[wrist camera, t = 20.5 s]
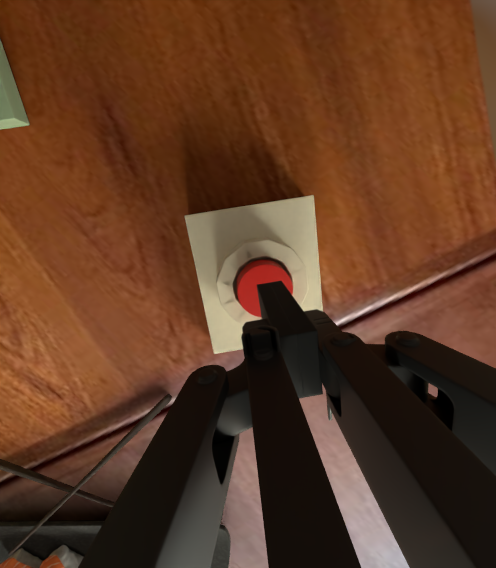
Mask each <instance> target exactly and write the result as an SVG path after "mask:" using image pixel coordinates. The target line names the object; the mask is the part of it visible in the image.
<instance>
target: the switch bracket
mask: <svg viewBox="0 0 496 568" xmlns="http://www.w3.org/2000/svg"><path fill="white" fill-rule="evenodd" d="M27 125H30V124H29V121H28V118H27V115H26V112H25V110H24V107H23V104H22V101H21V98H20V95H19V92H18V89H17V86H16V83H15V80H14V77H13V74H12V72H11V69H10V66H9V63H8V60H7V57H6V54H5V51H4V48H3V45H2V42H1V39H0V129H7V128H14V127H20V126H27Z"/></svg>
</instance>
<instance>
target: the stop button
mask: <svg viewBox="0 0 496 568" xmlns="http://www.w3.org/2000/svg"><path fill="white" fill-rule="evenodd" d="M281 280H282V282H283V283H284V285H285V286H286V287H287V289H288V290H289V291H290V293H291V294H293V285H292V281H291V279H290V277H289V275H288V274H287V273H286V272H285V271H284V269H283V268H282V267H281V266H280V265H278V264H277V263H275V262H273V261H270V260H257V261H253V262H251V263H249V264H248V265H246V266H245V267H244V268H243V269H242V271H241V272H240V274H239V276H238V279H237V295H238V300H239V302H240V304H241V306H242V307H243V308H244V309H245V310H246V311H247V312H248V313H250V314H251V315H254V316H257V317H261V311H260V304H259V298H258V291H257V284H263V283H269V282H275V281H281Z"/></svg>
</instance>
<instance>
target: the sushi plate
mask: <svg viewBox="0 0 496 568" xmlns="http://www.w3.org/2000/svg"><path fill="white" fill-rule="evenodd" d="M171 398H172V396H171V395H170V394H167V395H166V396H165V397H164V398H163V399H162V400H161V401H160V402H159V403H158V404H157V405H156V406H155V407H154V408H153V409H152V410H151V411H150V412H149V413H148V414H147V415H146V416H145V417H144V418H143V419H142V420H141V421H140V422H139V423H138V424H137V425H136V426H135V427H134V428H133V429H132V430H131V431H130V432H129V433H128V434H127V435H126V436H125V437H124V438H123V439H122V440H121V441H120V442H119V443H118V444H117V445H116V446H115V447H114V448H113V449H112V450H111V451H110V452H109V453H108V454H107V455H106V456H105V457H104V458H103V459H102V460H101V461H100V462H99V463H98V464H97V465H96V466H95V467H94V468H93V469H92V470H91V471H90V472H89V473H88V474H87V475H86V476H85V477H84V478H83V479H82V480H81V481H80V482H79V483H78V484H77V485H76V486H75V487H72V486H70V485H67V484H64V483H62V482H59V481H57V480H54V479H52V478H49V477H46V476H44V475H41V474H39V473H36V472H34V471H31V470H28V469H26V468H23V467H20V466H18V465H15V464H13V463H10V462H7V461H5V460H2V459H0V470H3V471H6V472H9V473H12V474H15V475H18V476H21V477H24V478H27V479H29V480H32V481H35V482H38V483H41V484H44V485H47V486H51V487H54V488H57V489H60V490H63V491H66V492H69V493H68V494H67V495H66V496H65V497H64V498H63V499H62V500H61V501H60V502H59V503H58V504H57V505H56V506H55V507H54V508H53V509H52V510H51V511H50V512H49V513H48V514H47V515H46V516H45V517H44V518H43V519H42V520H41V521H19V522H0V568H78V566H79V565H80V563H81V561H82V559H83V558H84V556H85V554H86V552H87V551H88V549H89V547H90V546H91V544H92V542H93V540H94V539H95V537H96V535H97V534H98V532H99V530H100V528H101V527H102V525H103V523H104V522H105V521H46V520H47V519H48V518H49V517H50V516H51V515H52V514H53V513H54V512H55V511H56V510H57V509H58V508H60V507H61V506H62V505H63V504H64V503H65V502H66V501H67V500H68V499H69V498H70V497H71V496H72V495H73V494H75V495H78V496H80V497H83V498H86V499H89V500H92V501H95V502H98V503H101V504H104V505H106V506H109V507H112V508H113V506H114V504H115V503H114V502H112V501H109V500H106V499H104V498H101V497H98V496H96V495H93V494H90V493H88V492H85V491H82V490H80V489H79V488H80V487H81V486H82V485H83V484H84V483H85V482H86V481H87V480H88V479H90V478H91V477H92V476H93V475H94V474H95V473H96V472H97V471H98V470H99V469H100V468H101V467H102V466H103V465H104V464H105V463H106V462H107V461H108V460H110V459H111V458H112V457H113V456H114V455H115V454H116V453H117V452H118V451H119V450H120V449H121V448H122V447H123V446H124V445H125V444H126V443H127V442H128V441H129V440H131V439H132V438H133V437H134V436H135V435H136V434H137V433H138V432H139V431H140V430H141V429H142V428H143V427H144V426H145V425H146V424H147V423H148V422H149V421H150V420H151V419H152V418H153V417H155V416H156V415H157V414H158V413H159V412H160V411H161V410H162V409H163V408H164V407H165V406H166V405H167V404H168V403H169V402H170V401H171ZM229 557H230V535H229V532H228V530H227V529H226V527H225V526H223V525H221V524H220V527H219V531H218V536H217V540H216V545H215V549H214V554H213V558H212V563H211V567H210V568H228V566H229Z"/></svg>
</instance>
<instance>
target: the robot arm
mask: <svg viewBox="0 0 496 568" xmlns="http://www.w3.org/2000/svg"><path fill="white" fill-rule="evenodd" d="M257 291H258V298H259V304H260V311H261V318H262V319H260V320H255V321H249V322H245V324H244V325H243V327H242V331H243V333H242V336H241V339H242V345H243V351H244V356H245V359H244V361H243V362H242V363H241V364H240V365H239V366H238V367H236V368H234V369H232V370H230V371H226V370H225V368H224V367H221V366H219V365H208V366H203V367H201V368H199V369H197V370H196V371H194V372H192V374H191V375H190V376H189V377H188V379H187V380H186V382H185V384H184V386H183V387H182V389H181V391H180V393H179V394H178V396H177V398H176V399H175V401H174V403H173V405H172V406H171V408H170V410H169V411H168V413H167V415H166V417H165V418H164V420H163V422H162V423H161V425H160V427H159V429H158V430H157V432H156V434H155V436H154V437H153V439H152V441H151V442H150V444H149V446H148V448H147V449H146V451H145V453H144V454H143V456H142V458H141V460H140V461H139V463H138V465H137V466H136V468H135V470H134V472H133V473H132V475H131V477H130V479H129V480H128V482H127V484H126V485H125V487H124V489H123V491H122V492H121V494H120V496H119V497H118V499H117V501H116V503H115V504H114V506H113V508H112V509H111V511H110V513H109V515H108V516H107V518H106V520H105V522H104V523H103V525H102V527H101V528H100V530H99V532H98V534H97V535H96V537H95V539H94V540H93V542H92V544H91V546H90V547H89V549H88V551H87V552H86V554H85V556H84V558H83V559H82V561H81V563H80V565H79V566H78V568H210V567H211V563H212V558H213V554H214V549H215V545H216V540H217V536H218V531H219V527H220V523H221V518H222V514H223V509H224V505H225V500H226V496H227V491H228V487H229V482H230V478H231V474H232V469H233V465H234V460H235V456H236V451H237V447H238V442H239V433H241V432H243V431H245V430H247V429H249V428H251V427H253V434H254V443H255V451H256V460H257V469H258V478H259V486H260V495H261V504H262V512H263V521H264V530H265V539H266V547H267V556H268V565H269V568H361V566H360V563H359V560H358V558H357V555H356V552H355V549H354V547H353V544H352V541H351V539H350V536H349V533H348V531H347V528H346V525H345V522H344V520H343V517H342V514H341V512H340V509H339V506H338V504H337V501H336V498H335V495H334V493H333V490H332V487H331V485H330V482H329V479H328V477H327V474H326V471H325V468H324V466H323V463H322V460H321V458H320V455H319V452H318V450H317V447H316V444H315V441H314V439H313V436H312V433H311V431H310V428H309V425H308V423H307V420H306V417H305V414H304V412H303V409H302V406H301V404H300V401H299V398H304V397H309V396H315V395H320V394H323V391H322V383H323V385H324V387H325V389H326V396H327V409H328V418H329V420H332V413H333V415H334V417H335V419H336V421H337V423H338V425H339V427H340V429H341V431H342V433H343V435H344V437H345V439H346V441H347V443H348V445H349V447H350V449H351V451H352V453H353V455H354V457H355V459H356V461H357V463H358V465H359V467H360V469H361V471H362V473H363V475H364V477H365V479H366V481H367V483H368V485H369V487H370V489H371V491H372V493H373V495H374V497H375V499H376V501H377V503H378V505H379V507H380V509H381V511H382V513H383V515H384V517H385V519H386V521H387V523H388V525H389V527H390V529H391V531H392V533H393V535H394V537H395V539H396V541H397V543H398V545H399V547H400V549H401V551H402V553H403V555H404V557H405V559H406V561H407V563H408V565H409V567H410V568H496V368H493V367H491V366H489V365H487V364H485V363H482V362H480V361H478V360H476V359H474V358H471V357H469V356H467V355H465V354H463V353H460V352H458V351H456V350H454V349H452V348H449V347H447V346H445V345H443V344H441V343H438V342H436V341H434V340H432V339H430V338H427V337H425V336H423V335H420V334H417V333H414V332H409V331H397V332H392V333H390V334H388V335H386V337H385V344H365V343H364V342H363V341H362V340H361V339H360V338H359V337H357V336H356V335H354V334H351V333H348V332H342V331H341V330H340V329H339V328H338V326H337V325H336V324H335V323H334V322H333V321H332V320H331V319H330V318H329V317H328V315H327V314H326V313H325V312H323V311H320V310H318V309H314V310H309V311H303V310H302V308H301V307H300V305H299V304H298V303H297V301H296V300H295V298H294V297H293V296H292V294H291V293H290V291H289V290H288V289H287V287H286V286H285V285H284V283H283V282H282V280H281V281H275V282H269V283H263V284H257ZM429 383H430V384H432V385H434V386H435V387H437V388H438V396H437V397H434V396H432V395H431V394H429V393H428V384H429Z"/></svg>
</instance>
